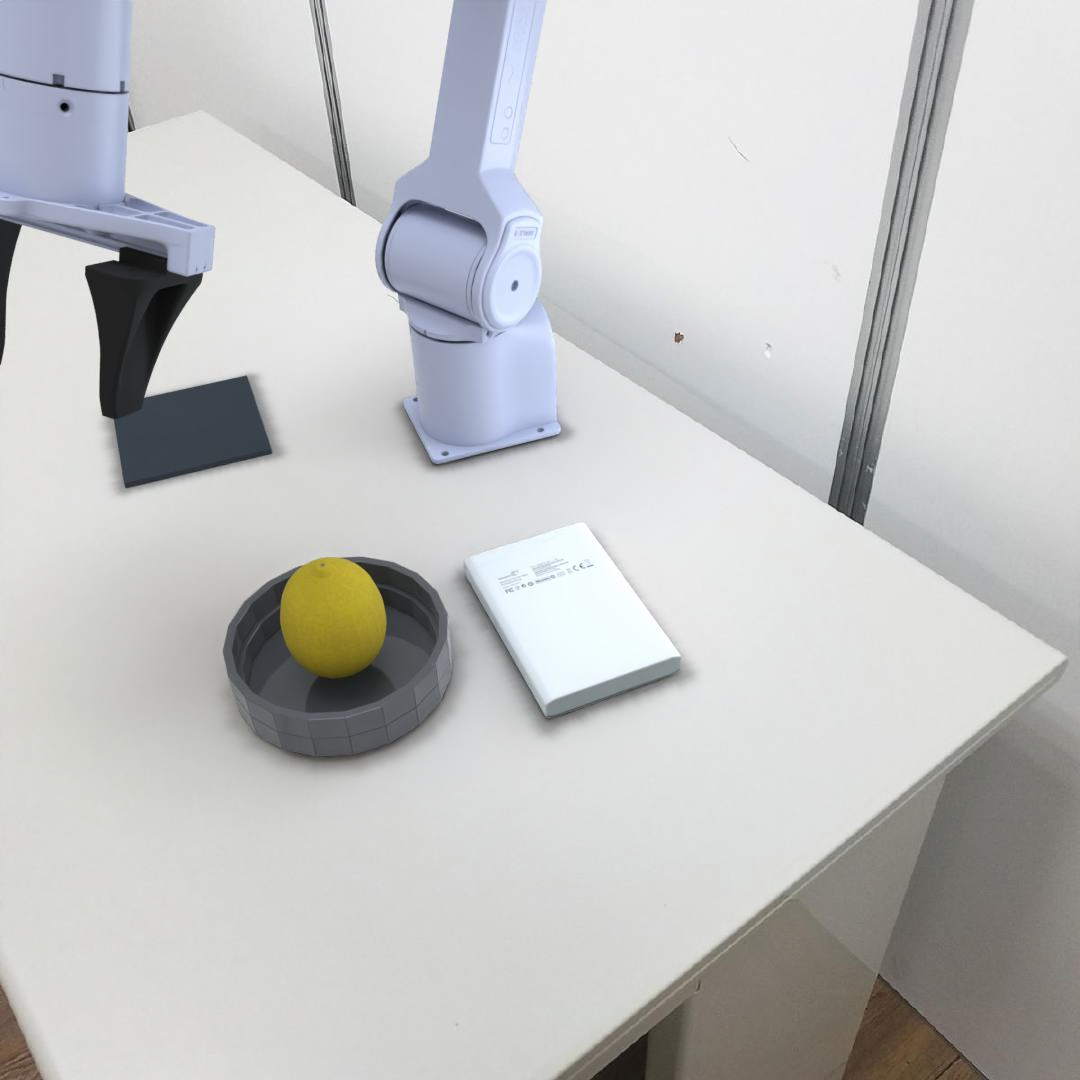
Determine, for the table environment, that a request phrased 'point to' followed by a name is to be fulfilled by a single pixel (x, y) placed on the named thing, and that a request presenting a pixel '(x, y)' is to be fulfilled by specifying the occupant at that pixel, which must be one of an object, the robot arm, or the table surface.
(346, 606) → the lemon
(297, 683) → the pan
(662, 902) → the table surface
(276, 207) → the table surface
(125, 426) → the mat
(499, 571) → the hard drive
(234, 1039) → the table surface
